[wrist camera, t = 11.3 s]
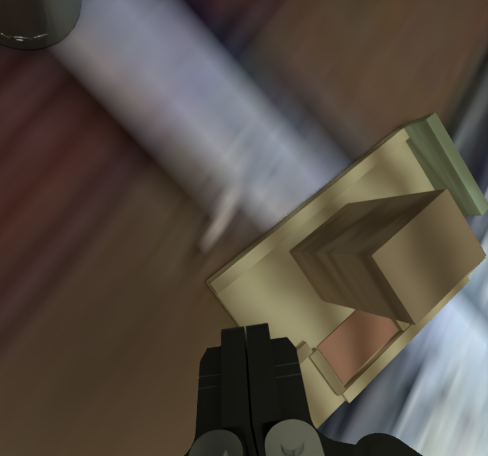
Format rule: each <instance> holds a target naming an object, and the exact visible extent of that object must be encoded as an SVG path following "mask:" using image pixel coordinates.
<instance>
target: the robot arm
mask: <svg viewBox="0 0 488 456" xmlns="http://www.w3.org/2000/svg"><path fill="white" fill-rule="evenodd" d="M80 8H81V0H0V44H2V45H5V46H8V47H12V48H18V49H39V48H44V47H48V46H50V45H53V44H55V43H57V42H59V41H60V40H62V39H63V38H64V37H66V36H67V35H68V34H69V32H70V31H71V30H72V29H73V28H74V26H75V24H76V22H77V20H78V18H79V13H80ZM198 388H199V390H198V402H197V418H196V434H195V439H194V442H193V444H192V446H191V448H190V449H189V451H188V452H187V453H186V454H185V456H422V455H421V454H419V453H418V452H416V451H415V450H414V449H412V448H411V447H409V446H408V445H406V444H405V443H403V442H402V441H401V440H399V439H397V438H396V437H394V436H391V435H388V434H384V433H373V434H369V435H366V436H364V437H363V438H361V439H360V440H359V441H358V442H357V444H356V445H354V444H348V443H343V442H338V441H334V440H332V439H329V438H327V437H326V436H324V435H323V434H321V433H320V432H319V431H318V430H317V429H316V427H315V426H314V424H313V422H312V420H311V416H310V411H309V406H308V402H307V397H306V392H305V387H304V383H303V378H302V373H301V368H300V364H299V359H298V354H297V349H296V347H295V346H294V345H293V343H292V342H291V341H290V340H289V338H288V337H282V338H275V339H271V337H270V331H269V325H268V323H262V324H255V325H248V326H246V331H245V327H244V326H241V327H234V328H227V329H222V330H221V346H220V347H213V348H207V350H206V352H205V353H204V355H203V357H202V359H201V361H200V369H199V386H198Z"/></svg>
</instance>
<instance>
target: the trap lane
mask: <svg viewBox="0 0 488 456" xmlns="http://www.w3.org/2000/svg"><path fill="white" fill-rule="evenodd" d="M440 189H448V191H449V192H450V194H451V196H452V197H453V199H454V201H455V203H456V204H457V206H458V208H459V210H460V211H461V213H462V215H463V216H478V215H483V214H484V213H485V212H486V211H487V210H488V203H487V201H486V199H485V198H484V196H483V194H482V192H481V191H480V189H479V187H478V185H477V184H476V182H475V180H474V178H473V177H472V175H471V173H470V171H469V170H468V168H467V166H466V165H465V163H464V161H463V159H462V158H461V156H460V154H459V152H458V151H457V149H456V147H455V145H454V144H453V142H452V140H451V138H450V137H449V135H448V133H447V132H446V130H445V128H444V126H443V125H442V123H441V121H440V119H439V118H438V116H437V114H436V112H434V113H432V114H429V115H426V116H424V117H421V118H419V119H416V120H413V121H411V122H408V123H405V124H403V125H401V126H399V127H398V128H397V129H396V130H394V131H393V132H392V133H391V134H389V135H388V136H387V137H386V138H384V139H383V140H382V141H381V142H379V143H378V144H377V145H376V146H374V147H373V148H372V149H371V150H369V151H368V152H367V153H366V154H364V155H363V156H362V157H361V158H359V159H358V160H357V161H356V162H354V163H353V164H352V165H351V166H349V167H348V168H347V169H346V170H344V171H343V172H342V173H341V174H339V175H338V176H337V177H336V178H334V179H333V180H332V181H331V182H329V183H328V184H327V185H326V186H324V187H323V188H322V189H320V190H319V191H318V192H317V193H315V194H314V195H313V196H312V197H310V198H309V199H308V200H307V201H305V202H304V203H303V204H302V205H300V206H299V207H298V208H297V209H295V210H294V211H293V212H292V213H290V214H289V215H288V216H287V217H285V218H284V219H283V220H282V221H280V222H279V223H278V224H277V225H275V226H274V227H273V228H272V229H270V230H269V231H268V232H267V233H265V234H264V235H263V236H262V237H260V238H259V239H258V240H257V241H255V242H254V243H253V244H252V245H250V246H249V247H248V248H247V249H245V250H244V251H243V252H242V253H240V254H239V255H238V256H237V257H235V258H234V259H233V260H232V261H230V262H229V263H228V264H227V265H225V266H224V267H223V268H222V269H220V270H219V271H218V272H217V273H215V274H214V275H213V276H212V277H210V278H209V279H208V280H207V281H205V282H206V284H207V285H208V286H209V288H210V289H211V290H212V292H213V293H214V294H215V296H216V297H217V299H218V300H219V301H220V303H221V304H222V305H223V307H224V308H225V309H226V311H227V312H228V313H229V315H230V316H231V317H232V319H233V320H234V322H235V323H236V324H237V326H238V327H241V326H244V327H245V331H246V326H248V325H255V324H262V323H268V325H269V331H270V337H271V339H275V338H282V337H288V338H289V340H290V341H291V342H292V343H293V345H294V346H295V347H296V349H297V354H298V359H299V364H300V368H301V373H302V378H303V383H304V387H305V392H306V397H307V402H308V406H309V411H310V416H311V420H312V422H313V424H314V426H315V427H316V429H317V428H318V427H319V426H320V425H321V424H322V423H323V422H324V421H325V420H326V419H327V418H328V417H329V416H330V415H331V414H332V413H333V412H334V411H335V410H336V409H337V408H338V407H339V406H340V405H341V404H342V403H343V402H344V401H345V400H346V401H347V402H349V403H350V402H351V401H352V400H353V399H354V398H355V397H356V396H357V395H358V394H359V393H360V392H361V391H362V390H363V389H364V388H365V387H366V386H367V385H368V384H369V383H370V382H371V381H372V380H373V379H374V377H375V376H376V375H377V374H378V373H379V372H380V371H381V370H382V369H383V368H384V367H385V366H386V365H387V364H388V363H389V362H390V361H391V360H392V359H393V358H394V357H395V356H396V355H397V354H398V353H399V352H400V351H401V350H402V349H403V348H404V347H405V346H406V345H407V344H408V343H409V342H410V341H411V340H412V339H413V338H414V337H415V336H416V335H417V334H418V333H419V332H420V331H421V330H422V328H423V327H424V326H425V325H426V324H427V323H428V322H429V321H430V320H431V319H432V318H433V317H434V316H435V315H436V314H437V313H438V312H439V311H440V310H441V309H442V308H443V307H444V306H445V305H446V304H447V303H448V302H449V301H450V300H451V299H452V298H453V297H454V296H455V295H456V294H457V293H458V292H459V291H460V290H461V289H462V288H463V287H464V286H465V285H466V284H467V283H468V282H469V278H468V277H467V276H468V275H469V274H470V273H471V272H472V271H473V270H474V269H475V268H476V267H477V266H478V265H479V264H480V263H481V262H482V261H483V260H484V259H485V257H484V258H483V259H482V260H481V261H480V262H479V263H478V264H477V265H476V266H475V267H474V268H473V269H472V270H471V271H470V272H469V273H468V274H467V275H466V276H465V277H464V278H463V279H462V280H461V281H460V282H459V283H458V284H457V285H456V286H455V287H454V288H453V289H452V290H451V291H450V292H449V293H448V294H447V295H446V296H445V297H444V298H443V299H442V300H441V301H440V302H439V303H438V304H437V305H436V306H435V307H434V308H433V309H432V310H431V311H430V312H429V313H428V314H427V315H426V316H425V317H424V318H423V319H422V320H421V321H420V322H419V323H418V324H417V325H413V324H409V323H405V322H402V321H398V320H394V319H390V318H386V317H382V316H378V315H375V314H371V313H367V312H363V311H359V310H355V309H352V308H348V307H344V306H340V305H336V304H332V303H329V302H325V301H322V300H321V298H320V297H319V295H318V294H317V292H316V291H315V289H314V288H313V286H312V285H311V283H310V282H309V280H308V279H307V278H306V276H305V275H304V273H303V272H302V270H301V269H300V267H299V266H298V264H297V263H296V261H295V260H294V258H293V257H292V255H291V254H290V252H289V251H290V250H291V249H292V248H294V247H295V246H296V245H297V244H298V243H300V242H301V241H302V240H303V239H305V238H306V237H307V236H308V235H309V234H311V233H312V232H313V231H314V230H316V229H317V228H318V227H319V226H320V225H322V224H323V223H324V222H325V221H327V220H328V219H329V218H330V217H331V216H333V215H334V214H335V213H336V212H338V211H339V210H340V209H341V208H342V207H344V206H345V205H346V204H347V203H354V202H361V201H367V200H374V199H381V198H387V197H394V196H400V195H407V194H414V193H420V192H427V191H434V190H440Z"/></svg>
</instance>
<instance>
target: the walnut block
mask: <svg viewBox="0 0 488 456" xmlns="http://www.w3.org/2000/svg"><path fill="white" fill-rule="evenodd" d="M289 252H290V254H291V255H292V257H293V258H294V260H295V261H296V263H297V264H298V266H299V267H300V269H301V270H302V272H303V273H304V275H305V276H306V278H307V279H308V280H309V282H310V283H311V285H312V286H313V288H314V289H315V291H316V292H317V294H318V295H319V297H320V298H321V300H322V301H325V302H329V303H332V304H336V305H340V306H344V307H348V308H352V309H355V310H359V311H363V312H367V313H371V314H375V315H378V316H382V317H386V318H390V319H394V320H398V321H402V322H405V323H409V324H413V325H417V324H418V323H419V322H420V321H421V320H422V319H423V318H424V317H425V316H426V315H427V314H428V313H429V312H430V311H431V310H432V309H433V308H434V307H435V306H436V305H437V304H438V303H439V302H440V301H441V300H442V299H443V298H444V297H445V296H446V295H447V294H448V293H449V292H450V291H451V290H452V289H453V288H454V287H455V286H456V285H457V284H458V283H459V282H460V281H461V280H462V279H463V278H464V277H465V276H466V275H467V274H468V273H469V272H470V271H471V270H472V269H473V268H474V267H475V266H476V265H477V264H478V263H479V262H480V261H481V260H482V259H483V258H484V257H485V256H486V254H485V252H484V251H483V249H482V247H481V246H480V244H479V242H478V240H477V239H476V237H475V235H474V234H473V232H472V230H471V228H470V227H469V225H468V223H467V222H466V220H465V218H464V216H463V215H462V213H461V211H460V210H459V208H458V206H457V204H456V203H455V201H454V199H453V197H452V196H451V194H450V192H449V191H448V189H440V190H434V191H427V192H420V193H414V194H407V195H400V196H394V197H387V198H381V199H374V200H367V201H361V202H354V203H347V204H346V205H345V206H344V207H342V208H341V209H340V210H339V211H338V212H336V213H335V214H334V215H333V216H331V217H330V218H329V219H328V220H327V221H325V222H324V223H323V224H322V225H320V226H319V227H318V228H317V229H316V230H314V231H313V232H312V233H311V234H309V235H308V236H307V237H306V238H305V239H303V240H302V241H301V242H300V243H298V244H297V245H296V246H295V247H294V248H292V249H291V250H290V251H289Z"/></svg>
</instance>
